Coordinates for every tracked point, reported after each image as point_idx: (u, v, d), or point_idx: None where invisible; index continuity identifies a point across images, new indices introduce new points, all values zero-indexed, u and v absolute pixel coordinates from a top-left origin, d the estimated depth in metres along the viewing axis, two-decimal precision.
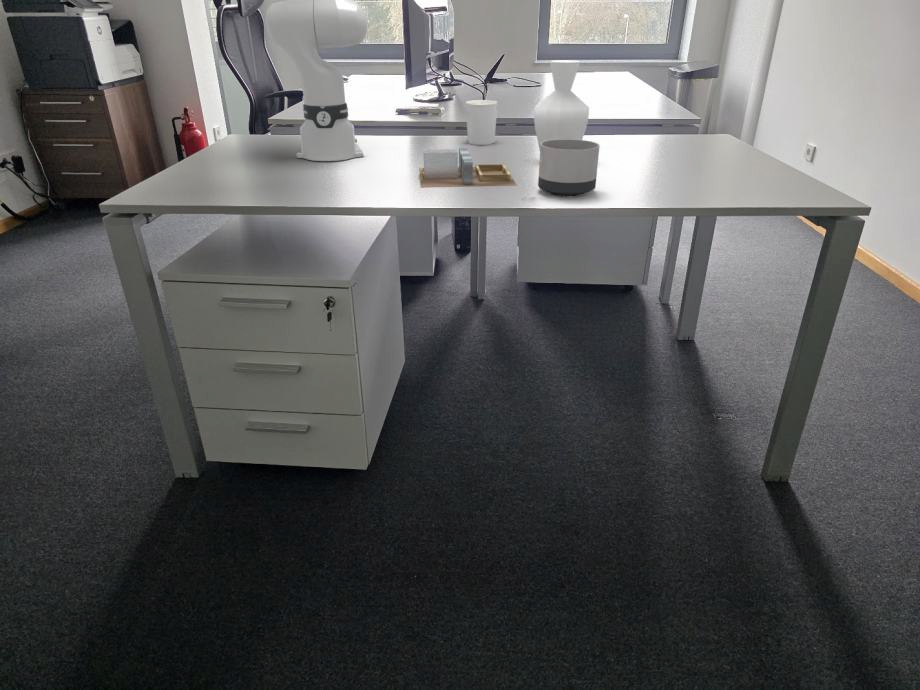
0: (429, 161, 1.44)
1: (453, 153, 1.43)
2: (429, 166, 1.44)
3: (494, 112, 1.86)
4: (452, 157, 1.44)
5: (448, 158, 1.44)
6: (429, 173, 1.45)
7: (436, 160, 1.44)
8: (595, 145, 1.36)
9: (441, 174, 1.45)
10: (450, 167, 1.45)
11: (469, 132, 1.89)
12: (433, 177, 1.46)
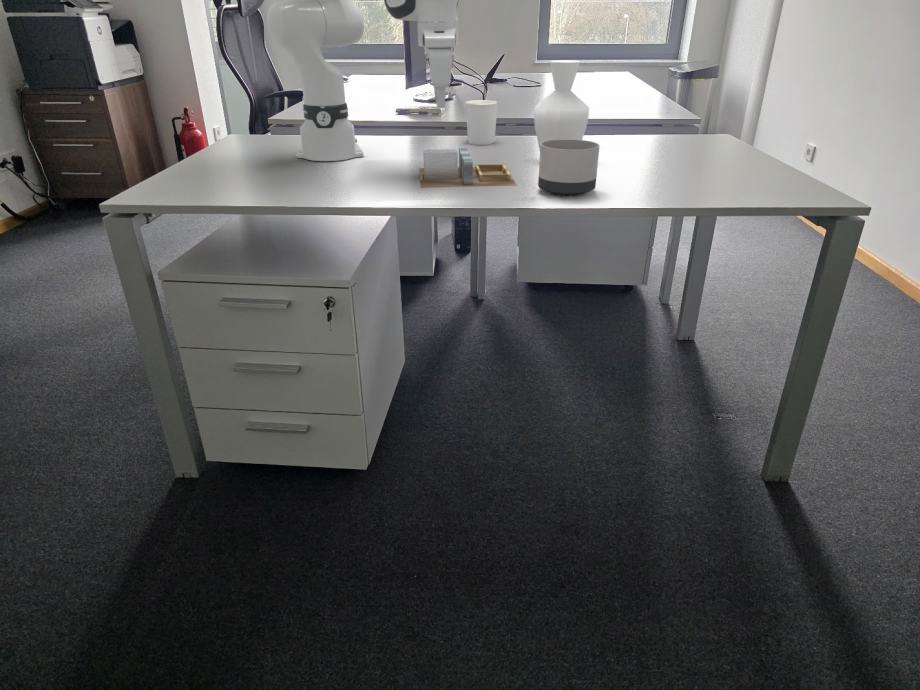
0: (429, 161, 1.44)
1: (453, 153, 1.43)
2: (429, 166, 1.44)
3: (494, 112, 1.86)
4: (452, 157, 1.44)
5: (448, 158, 1.44)
6: (429, 173, 1.45)
7: (436, 160, 1.44)
8: (595, 145, 1.36)
9: (441, 174, 1.45)
10: (450, 167, 1.45)
11: (469, 132, 1.89)
12: (433, 177, 1.46)
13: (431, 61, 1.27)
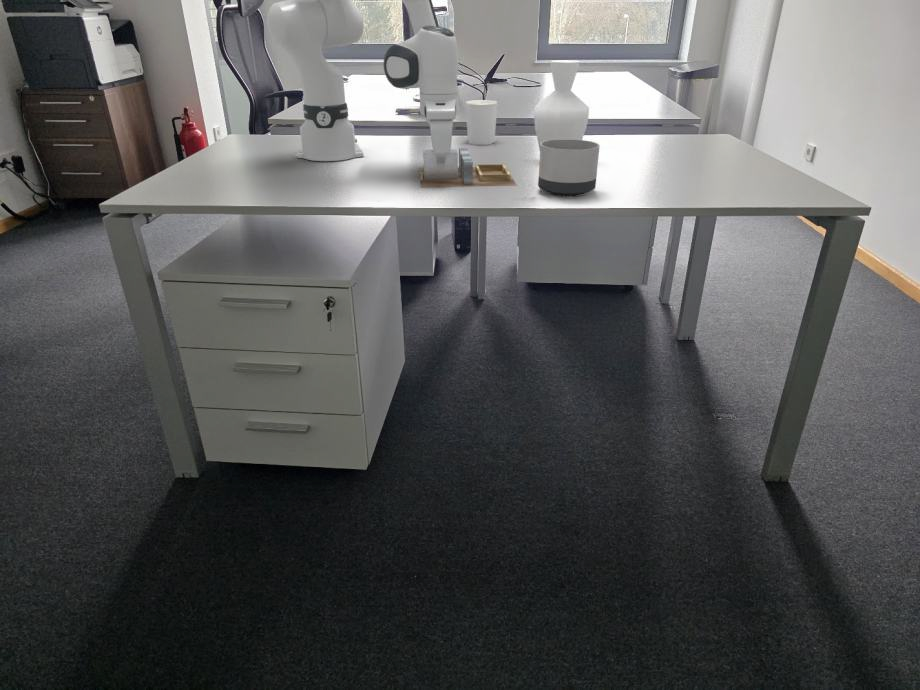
0: (429, 161, 1.44)
1: (453, 153, 1.43)
2: (429, 166, 1.44)
3: (494, 112, 1.86)
4: (452, 157, 1.44)
5: (448, 158, 1.44)
6: (429, 173, 1.45)
7: (436, 160, 1.44)
8: (595, 145, 1.36)
9: (441, 174, 1.45)
10: (450, 167, 1.45)
11: (469, 132, 1.89)
12: (433, 177, 1.46)
13: (432, 132, 1.34)
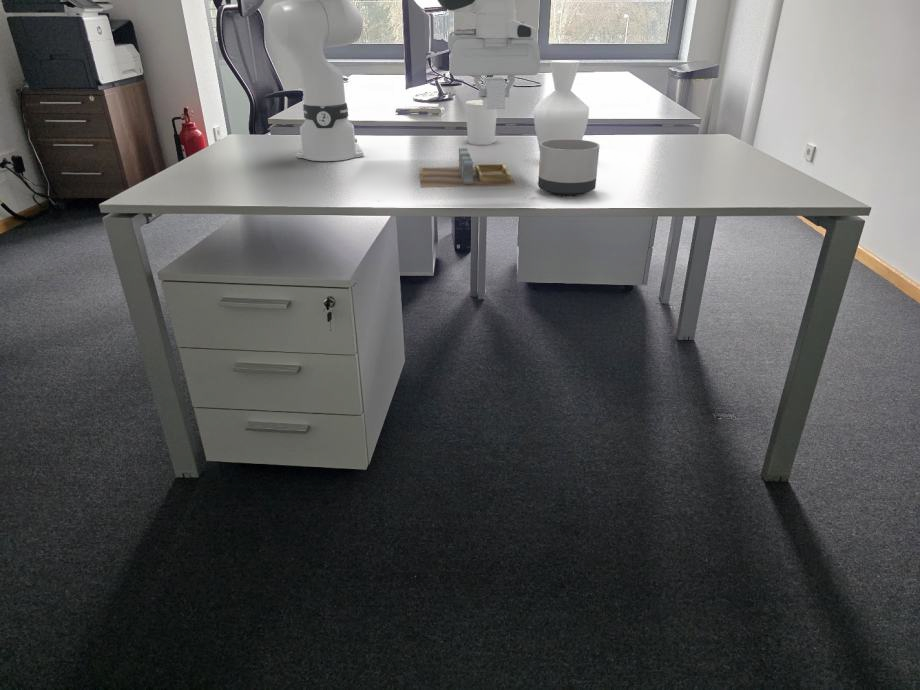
0: None
1: (501, 78, 1.41)
2: None
3: (494, 112, 1.86)
4: None
5: None
6: None
7: None
8: (595, 145, 1.36)
9: None
10: None
11: (469, 132, 1.89)
12: None
13: None
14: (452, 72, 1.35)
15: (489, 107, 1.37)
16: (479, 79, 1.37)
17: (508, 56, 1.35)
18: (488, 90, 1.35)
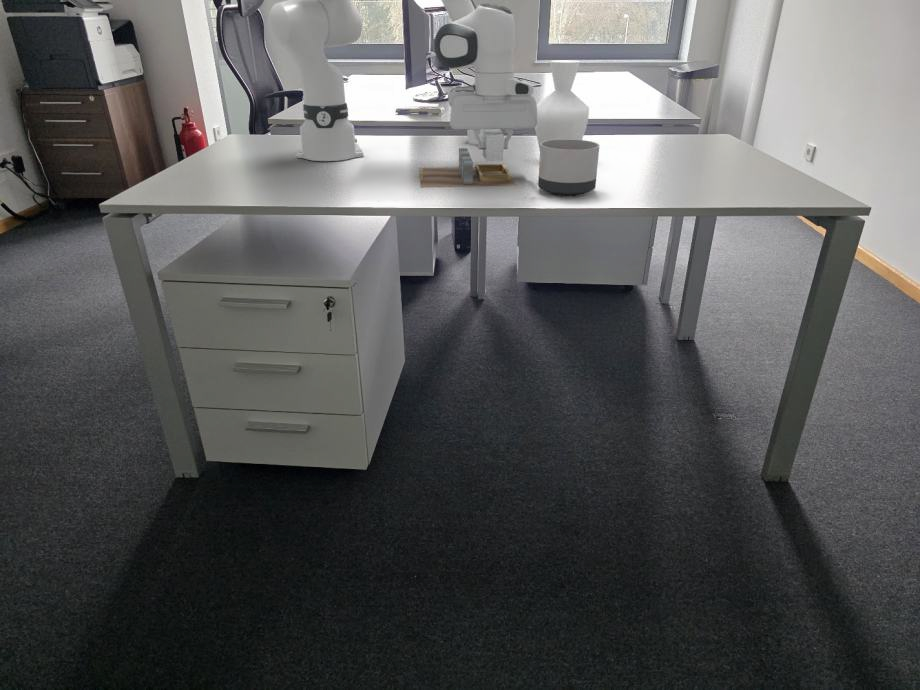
0: None
1: (500, 130, 1.46)
2: None
3: None
4: None
5: None
6: None
7: None
8: (595, 145, 1.36)
9: None
10: None
11: (469, 132, 1.89)
12: None
13: (536, 106, 1.40)
14: (453, 126, 1.41)
15: (488, 159, 1.43)
16: (479, 132, 1.42)
17: (506, 112, 1.40)
18: (487, 144, 1.41)
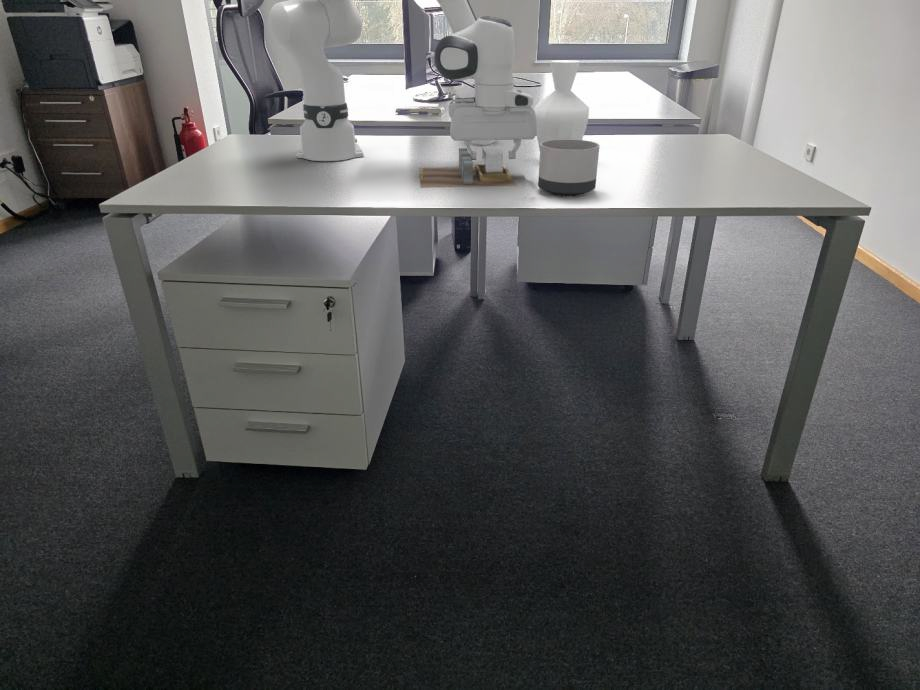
0: None
1: (499, 148, 1.49)
2: None
3: None
4: None
5: None
6: None
7: None
8: (595, 145, 1.36)
9: None
10: None
11: None
12: None
13: (535, 117, 1.41)
14: (453, 137, 1.42)
15: None
16: (470, 143, 1.43)
17: (506, 123, 1.41)
18: (487, 162, 1.43)
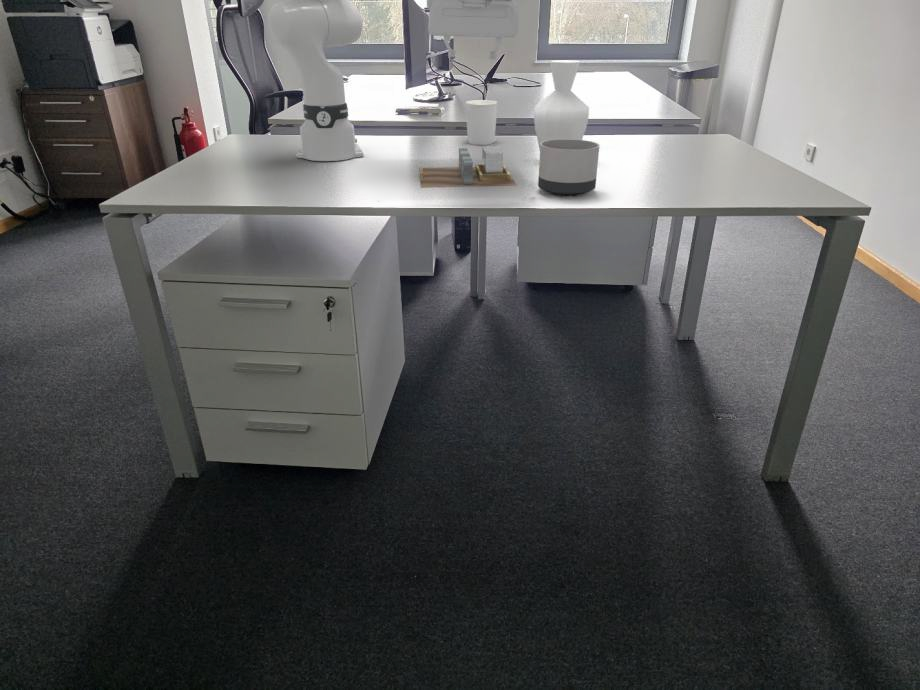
0: None
1: (499, 148, 1.49)
2: None
3: (494, 112, 1.86)
4: None
5: None
6: None
7: None
8: (595, 145, 1.36)
9: None
10: None
11: (469, 132, 1.89)
12: None
13: (517, 12, 1.35)
14: (430, 32, 1.36)
15: None
16: (449, 39, 1.38)
17: (486, 18, 1.35)
18: (487, 162, 1.43)
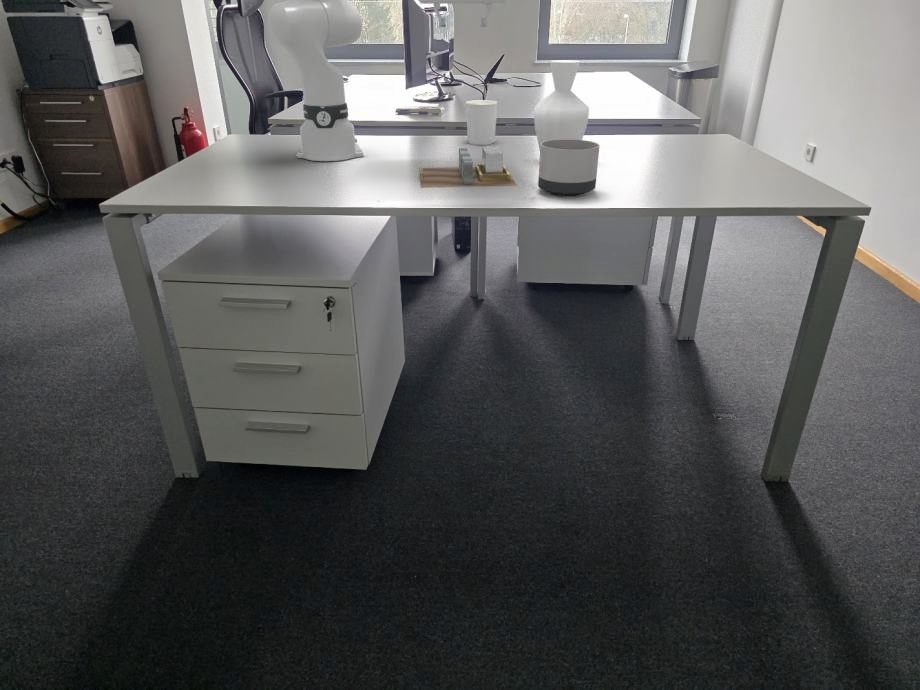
0: None
1: (499, 148, 1.49)
2: None
3: (494, 112, 1.86)
4: None
5: None
6: None
7: None
8: (595, 145, 1.36)
9: None
10: None
11: (469, 132, 1.89)
12: None
13: None
14: None
15: None
16: (438, 7, 1.37)
17: None
18: (487, 162, 1.43)
